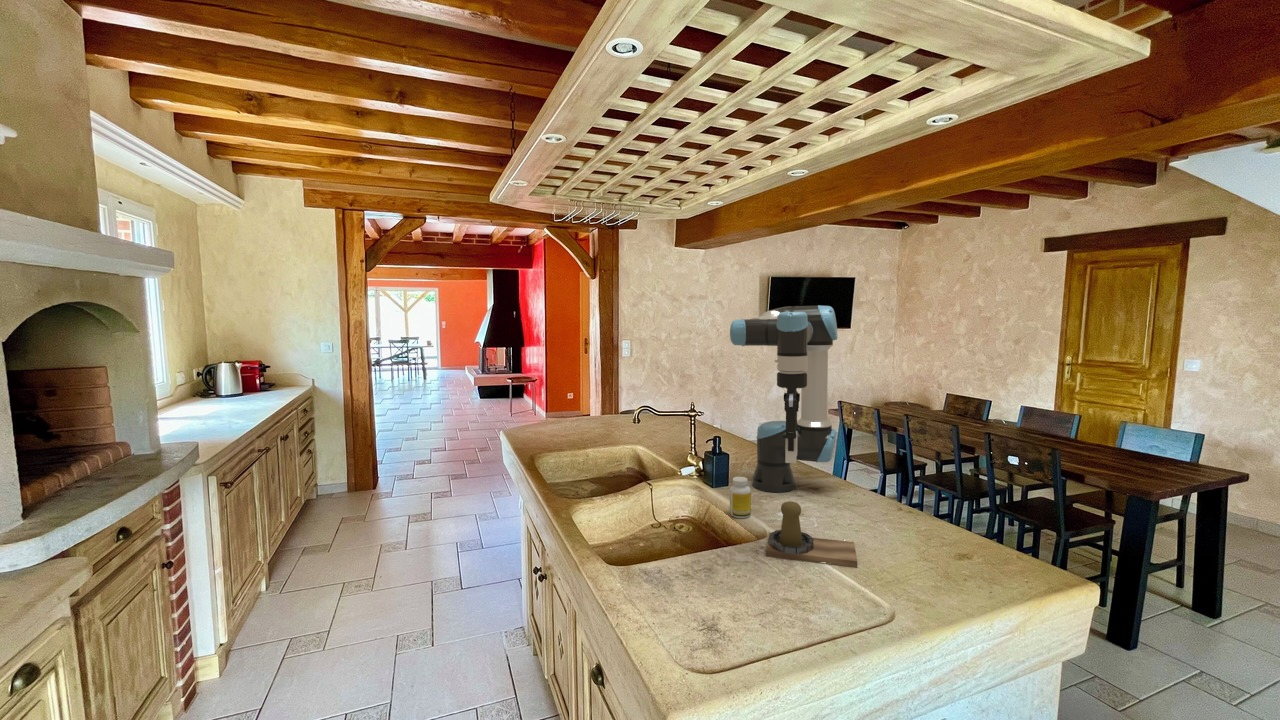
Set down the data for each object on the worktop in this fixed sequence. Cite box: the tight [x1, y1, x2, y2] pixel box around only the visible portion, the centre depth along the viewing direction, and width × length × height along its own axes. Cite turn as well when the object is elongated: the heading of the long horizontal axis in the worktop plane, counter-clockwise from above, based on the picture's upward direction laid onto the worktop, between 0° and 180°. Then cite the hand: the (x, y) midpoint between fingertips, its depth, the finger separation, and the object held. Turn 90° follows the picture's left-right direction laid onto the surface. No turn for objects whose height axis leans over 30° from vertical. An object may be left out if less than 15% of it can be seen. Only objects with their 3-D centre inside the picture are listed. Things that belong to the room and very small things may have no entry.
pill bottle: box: [729, 476, 752, 519], centre depth 162 cm, size 6×6×12 cm
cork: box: [779, 501, 803, 546], centre depth 138 cm, size 6×6×11 cm
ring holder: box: [768, 529, 814, 554], centre depth 138 cm, size 11×11×2 cm
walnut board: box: [765, 532, 858, 568], centre depth 137 cm, size 11×22×2 cm, turn 72°
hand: (791, 458), depth 136 cm, fingers open, 6 cm apart
